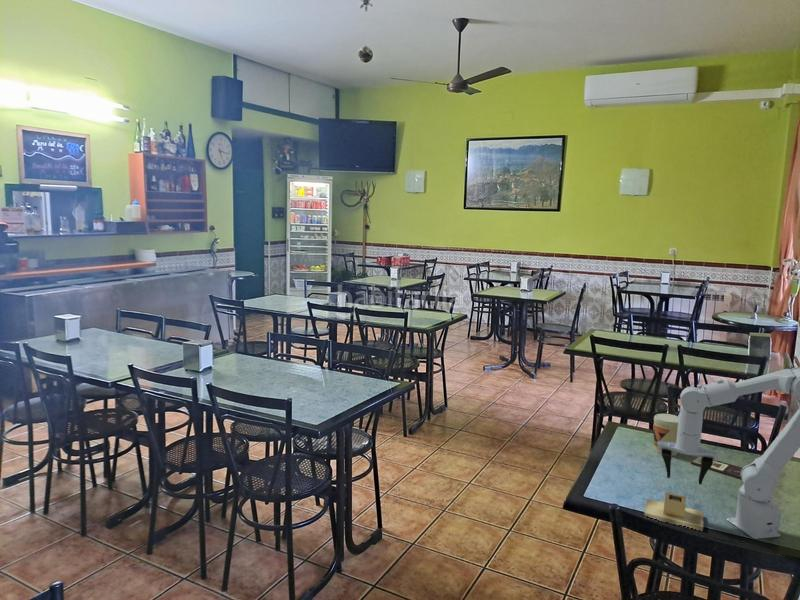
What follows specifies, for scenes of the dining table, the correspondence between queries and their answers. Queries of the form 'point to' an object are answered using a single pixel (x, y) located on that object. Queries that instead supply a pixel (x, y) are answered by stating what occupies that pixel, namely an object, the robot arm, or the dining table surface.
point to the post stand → (690, 517)
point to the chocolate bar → (722, 468)
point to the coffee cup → (665, 430)
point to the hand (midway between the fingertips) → (684, 479)
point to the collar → (674, 505)
